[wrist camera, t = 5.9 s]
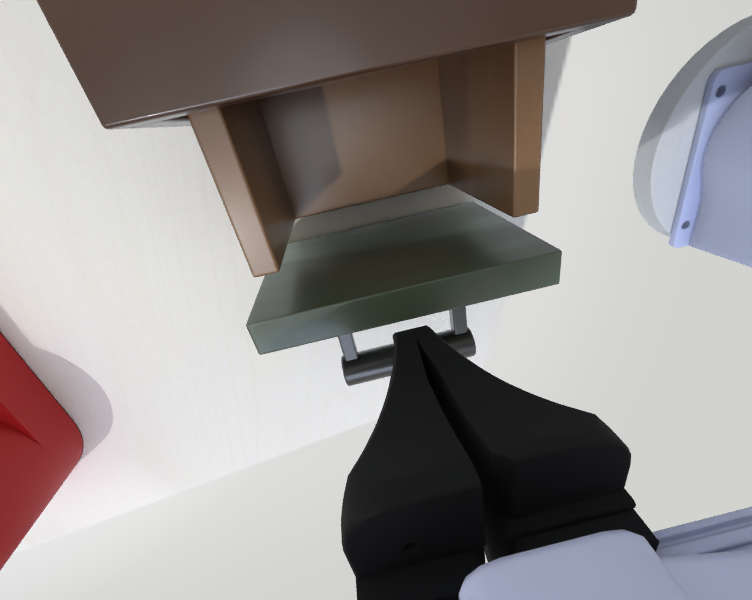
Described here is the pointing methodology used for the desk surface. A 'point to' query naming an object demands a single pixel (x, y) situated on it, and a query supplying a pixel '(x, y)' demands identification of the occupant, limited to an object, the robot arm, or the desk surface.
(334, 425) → the desk surface
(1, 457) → the lever
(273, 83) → the cabinet
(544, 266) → the drawer
